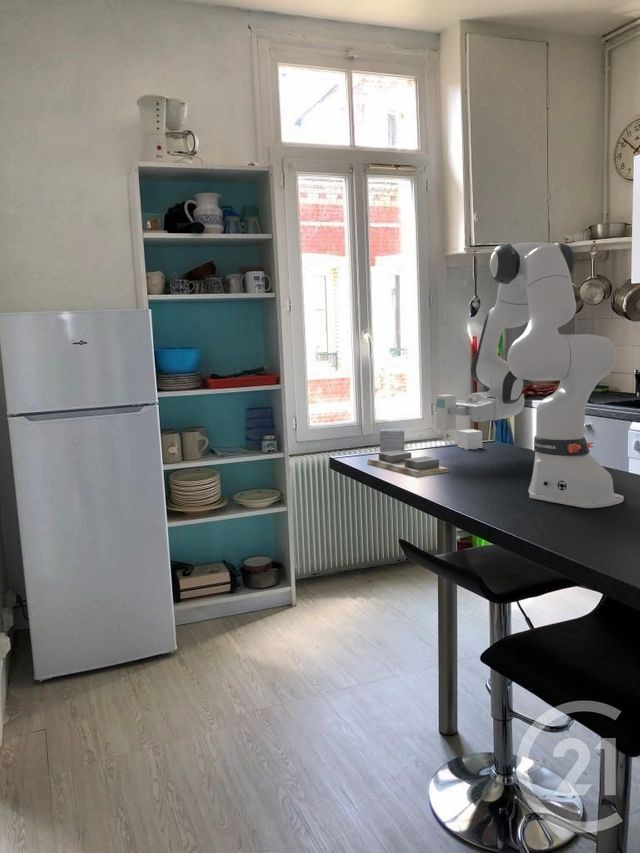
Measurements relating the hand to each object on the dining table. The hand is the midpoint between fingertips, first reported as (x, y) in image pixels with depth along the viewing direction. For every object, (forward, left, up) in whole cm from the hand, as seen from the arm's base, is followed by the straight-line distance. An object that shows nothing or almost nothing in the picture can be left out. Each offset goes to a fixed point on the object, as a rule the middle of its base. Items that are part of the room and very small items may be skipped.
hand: (443, 410), depth 206 cm
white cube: (+20, -29, -17) cm, 39 cm away
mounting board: (+6, +9, -17) cm, 20 cm away
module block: (0, -1, -5) cm, 6 cm away
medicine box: (+24, +1, -17) cm, 29 cm away
